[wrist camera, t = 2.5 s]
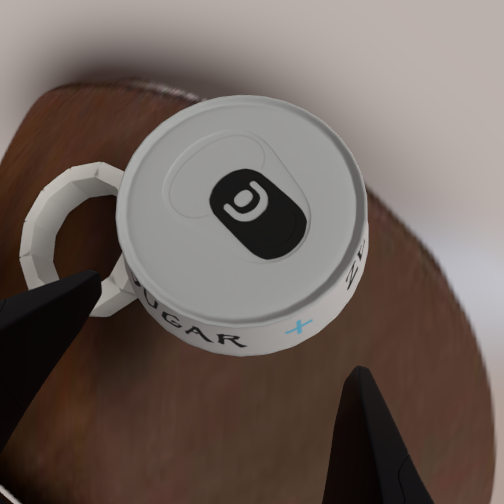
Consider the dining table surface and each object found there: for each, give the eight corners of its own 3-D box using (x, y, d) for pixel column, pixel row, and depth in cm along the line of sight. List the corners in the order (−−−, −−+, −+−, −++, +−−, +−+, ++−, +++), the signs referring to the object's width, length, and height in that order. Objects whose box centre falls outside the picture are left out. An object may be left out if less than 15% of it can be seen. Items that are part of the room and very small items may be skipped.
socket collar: (71, 341, 19) (48, 341, 17) (30, 229, 22) (9, 217, 19) (185, 267, 21) (174, 256, 18) (126, 158, 23) (112, 138, 20)
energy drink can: (253, 229, 21) (245, 45, 7) (318, 292, 20) (445, 201, 6) (187, 291, 20) (46, 200, 6) (251, 358, 19) (233, 435, 5)
